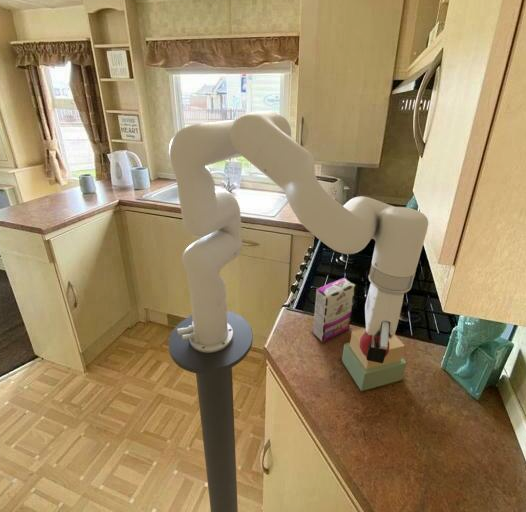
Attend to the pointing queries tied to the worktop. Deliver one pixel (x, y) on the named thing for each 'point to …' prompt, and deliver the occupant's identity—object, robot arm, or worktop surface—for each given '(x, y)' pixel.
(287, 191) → the robot arm
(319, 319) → the candy bar box
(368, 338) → the onion
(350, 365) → the box stack
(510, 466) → the worktop surface
